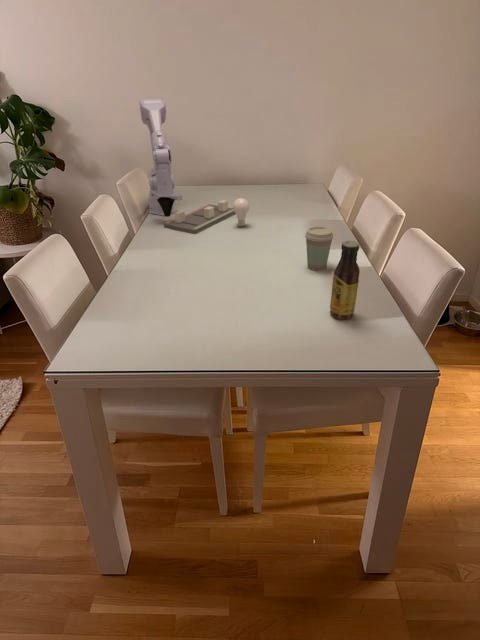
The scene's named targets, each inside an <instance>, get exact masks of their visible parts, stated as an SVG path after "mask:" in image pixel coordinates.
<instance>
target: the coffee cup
mask: <svg viewBox="0 0 480 640" xmlns="http://www.w3.org/2000/svg"><path fill="white" fill-rule="evenodd" d="M304 237H305V241H306V257H307V258H306V262H307V268H308V269H309V270H312V271H319V272H320V271H323V270H326V269H327V265H328V260H329V256H330V255H329V254H330V252H331V246H332V242H333V241H332V240H333V239H334V233H333V230H332V229H331V228H329V227H326V226H312V227H309V228H307V230H306V232H305V234H304Z"/></svg>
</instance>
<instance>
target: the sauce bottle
mask: <svg viewBox="0 0 480 640" xmlns="http://www.w3.org/2000/svg"><path fill="white" fill-rule="evenodd" d="M359 249H360V243H358V242H357V241H355V240H344V241H343V242H342V243H341V255H340V259H339V261H338V263H337V265H336V268H335V269H334V271H333V278H332V279H333V280H332V283H331V284H332V286H331V296H330V306H329V311H330V312H329V314H330V315H331V316H332V317H333V318H335V319H336V320H349V319H352V317H353V316H354V312H355V308H356V303H357V295H358V287H359V282H360V281H359V278H360V273H361V271H360V267H359V264H358V263H357V261H358V258H357V257H358V252H359Z"/></svg>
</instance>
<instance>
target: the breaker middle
mask: <svg viewBox="0 0 480 640" xmlns="http://www.w3.org/2000/svg"><path fill="white" fill-rule="evenodd" d="M212 217H214V207H211V206H208V207H206V208H204V218H208V219H210V218H212Z"/></svg>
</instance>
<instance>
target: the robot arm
mask: <svg viewBox="0 0 480 640" xmlns="http://www.w3.org/2000/svg"><path fill="white" fill-rule="evenodd" d="M139 111H140V117H141V118H140V119H141V121H142V123H143V124H144V125H146V126H147V129H148V131H149V136H150V145H151V152H152V160H153V168H151V169H150V170H149V173H148V183H149V193H148V205H149V211H148V213H149V214H154V215H158V216H164V217H166V218H169V217H170V216H171V215H172V214H174V212H177V211H178V209H174V207H173V206H174V202H175V201H178V202H181V201H183V195H182V194H181V193H177V192H175V191H173V190H174V189H175V180H174V175H173V171H172V168H171V166H172V165H171V164H172V153H171V148H170V147H169V145H168V139H167V134H166V133H165V132H164V131H163V126H162V124H164V123H165V122H166V117H167V106H166V100H165V98H163V97H161V98H145V99H142V98H141V99H139Z"/></svg>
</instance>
